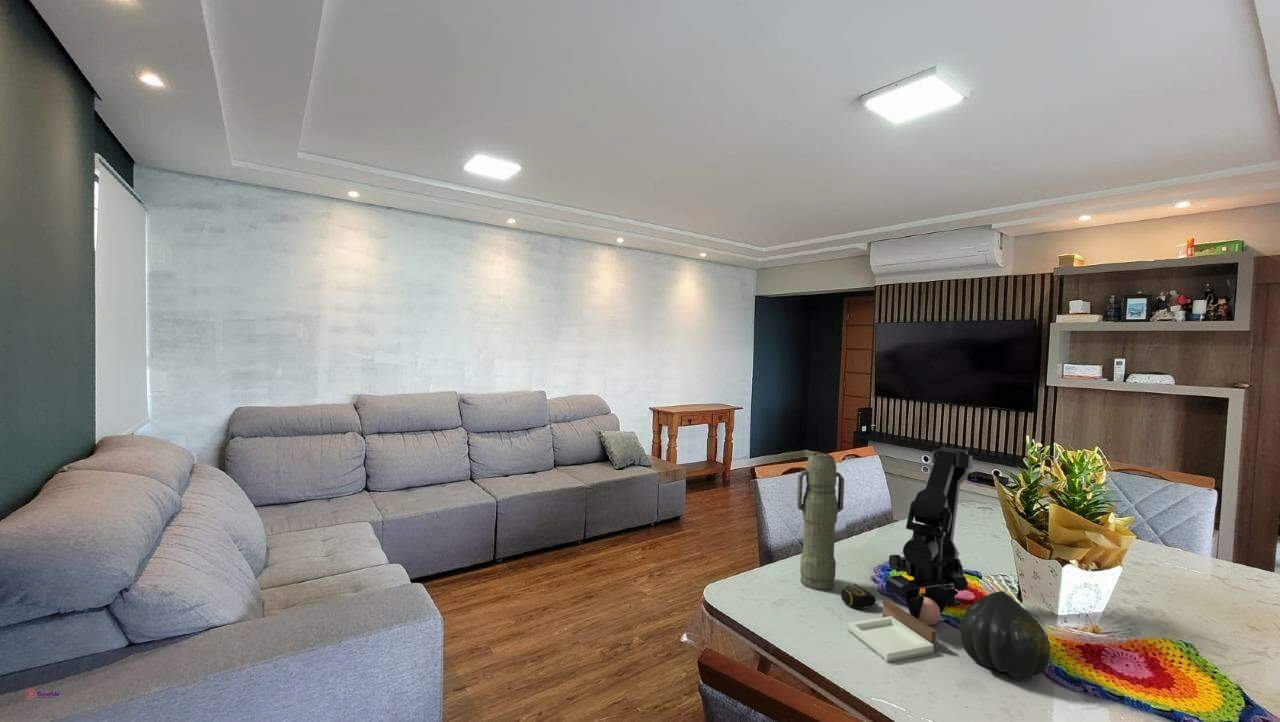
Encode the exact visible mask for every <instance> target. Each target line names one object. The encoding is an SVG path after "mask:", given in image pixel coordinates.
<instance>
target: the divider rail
mask: <svg viewBox="0 0 1280 722" xmlns="http://www.w3.org/2000/svg"><path fill="white" fill-rule="evenodd" d="M888 616H892V617H893V618H895V619H896V620H898V621H899V622H901V623H902V624H903V625H905V626H906V627H908V628H909V629H911V630H912V631H914V632H915V633H917V634H918V635H920V636H921V637H923V638H924V639H926V640H927V641H929V642H930V643H932V644H933V645H934V651H936V644H937V630H935V629H934V628H932V627H931V626H930V625H926V624H924V623H923V622H921V621H920V620H918V619H917V618H915V617H913V616H912V615H910V612H909V613H908V612H907V611H906V610H904V609H902V607H899V605H896V604H895V603H893V602H892V601H890V600H889V599H885V600H884V599H883V600H882V617H888Z"/></svg>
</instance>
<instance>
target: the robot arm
mask: <svg viewBox="0 0 1280 722" xmlns="http://www.w3.org/2000/svg"><path fill="white" fill-rule="evenodd" d="M973 460H974V459H973V455H971V454H969V453H968V450H964V449H958V448H956V449H955V448H950V447H949V448H948V447H940V449H933V451H932V461H931V464H933V465H932V468H931V471H930V474H929V477H928V480H927V483H926V486H925V488H924V489H922V490H920V491H917V493H916V496H915V498H914V500H912V501H911V503H910V507H909V512H908V516H907V522H906V525H905V529H906V530H908V531H909V530H910V531H912V536H911V537H910V539H908V541H907V542H905V543H904V545H903V548H902V554H903V556H901V555H900V554H890V555H889V557H888V564H889V565H888V566H889V568H890V569H892V570H895V572H896V573H899V572H903V573H906V576H908V577H912V578H913V579H911V580H910V579H908V578H906V577H905V576H903V575H901V574H900V575H899V574H898V575H893V576H892V575H890V576H888V577H887V578H885V589H886V590H888V591H890V592H892V593H893V594H895V595H896V596H898V597H900V598H901V599H903V600H905V602H906V603H905V604H906V606H907V608H908V612H909V614H910V615H912V616H913V617H915V618H917V619H918V618H919V615H920V611H921V608H922V605H923V601H924V597H928V598H930V599H932V600H933V601H934V602H935V603H936V604H937V605H938V607H939V609H940V616H941V615H942V614H943V612H944V611H945V609H946V608H947V607H951V606H956V605H961V601H959V600H958V599H956V596H957V595H959V592H962V591H968V586H969V585H968V584H969V582H968V579H967V578H966V576H964V567H963V565H962V562H961V559H960V558H959V556H960V552H959V551H958V548H957V547H956V544H955V543H954V535H955V526H956V519H957V518H956V517H957V510H958V502H959V494H960V487H961V484H962V483H963V482H964V481H965V480H966V479H967V478H968V477H969V474H970V473H969V472H970V470H972V468H973V462H974V461H973ZM914 521H915V522H914ZM921 589H924V592H922V593H920V592H921Z"/></svg>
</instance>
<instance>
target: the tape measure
mask: <svg viewBox="0 0 1280 722" xmlns="http://www.w3.org/2000/svg"><path fill="white" fill-rule="evenodd" d="M840 593H841V596H840V597H841V600H842V601H843V602H844V603H845V605H847V606H850V607H852V608H856V609H866V608H869V607H872V606H874V605H875V604H876V600H877V599H876V597H875V595H873V594H872V592H871V593H870V592H869V591H867V590H866V589H864V588H863V587H861V586H860V585H858V584H856V583H854V584H853V585H852V584H846V585H844V586H843V587H842V590H841V592H840Z"/></svg>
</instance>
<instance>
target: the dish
mask: <svg viewBox="0 0 1280 722" xmlns="http://www.w3.org/2000/svg"><path fill="white" fill-rule="evenodd" d="M846 630H847V632H848V633H849V634H851V636H853V637H854V638H856V639H857V640H858V641H860V642H861V643H862V644H863V645H864V646H865V647H867V648H868V649H869V650H871V651H872V652H873V653H874V654H875V655H877V656H878V657H879V658H880V659H882V660H883V661H885V662H886V663H889V662H890V663H891V662H897V661H901V660H906V659H912V658H916V657H917V658H918V657H922V656H927V655H931V654H932V655H933V654H934V651H935V650H934V645H933V644H932V643H930V642H929V641H927V640H926V639H924V638H923V637H921V636H920V635H918V634H917V633H915V632H914V631H912V630H911V629H909V628H908V627H906V626H905V625H903V624H902V623H901V622H899V621H898V620H896V619H895V618H893V617H892V616H888V617H883V616H882V617H877V618H871V619H864V620H858V621H853V622H847V629H846Z"/></svg>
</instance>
